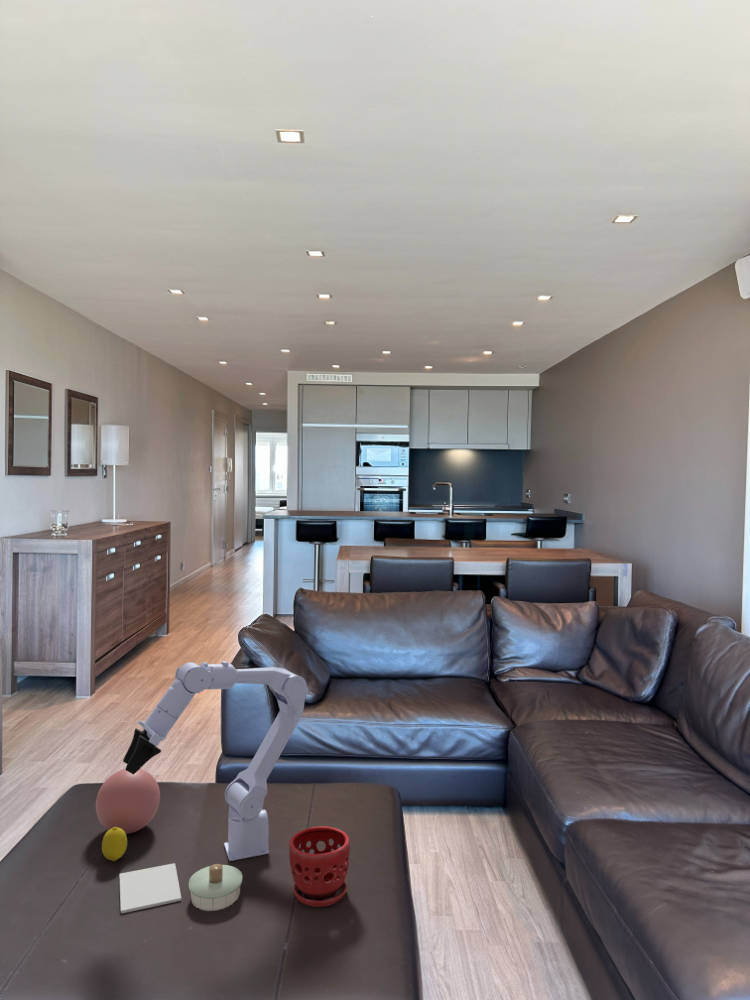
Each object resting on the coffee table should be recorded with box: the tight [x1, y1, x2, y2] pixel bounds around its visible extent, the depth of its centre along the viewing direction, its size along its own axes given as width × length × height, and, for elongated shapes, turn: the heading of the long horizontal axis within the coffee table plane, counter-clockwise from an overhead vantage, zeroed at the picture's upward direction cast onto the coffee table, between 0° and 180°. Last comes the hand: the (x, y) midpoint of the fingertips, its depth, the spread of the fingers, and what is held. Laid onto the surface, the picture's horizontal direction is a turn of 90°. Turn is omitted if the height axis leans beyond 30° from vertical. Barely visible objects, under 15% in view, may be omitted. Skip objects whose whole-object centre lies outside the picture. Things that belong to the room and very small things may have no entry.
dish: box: [190, 886, 241, 912], centre depth 141 cm, size 10×10×3 cm
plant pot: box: [288, 825, 351, 908], centre depth 142 cm, size 13×13×12 cm
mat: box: [119, 862, 182, 914], centre depth 144 cm, size 12×14×1 cm
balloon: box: [95, 768, 161, 835], centre depth 170 cm, size 15×20×15 cm
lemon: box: [101, 827, 128, 862], centre depth 154 cm, size 6×6×8 cm
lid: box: [188, 863, 243, 898], centre depth 141 cm, size 11×11×3 cm
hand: (127, 767), depth 143 cm, fingers open, 7 cm apart
